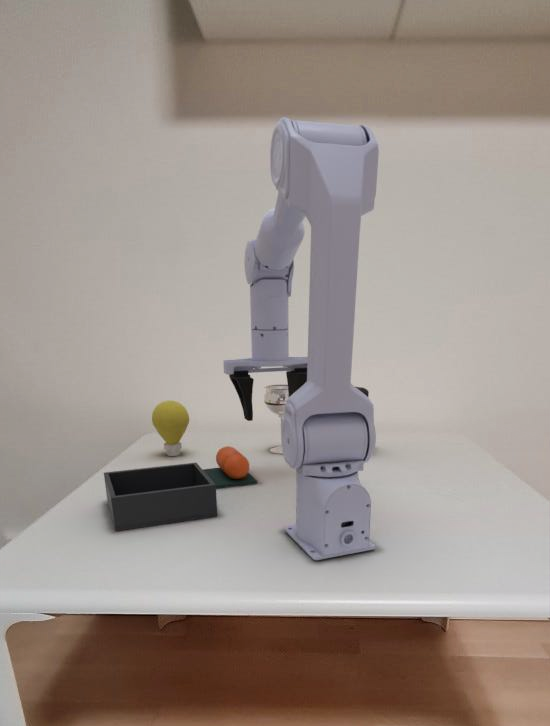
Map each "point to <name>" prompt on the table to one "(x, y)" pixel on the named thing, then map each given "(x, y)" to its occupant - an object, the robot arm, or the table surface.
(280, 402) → the wineglass
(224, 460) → the orange lobed capsule
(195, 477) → the basin
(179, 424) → the light bulb
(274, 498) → the table surface
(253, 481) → the pad
